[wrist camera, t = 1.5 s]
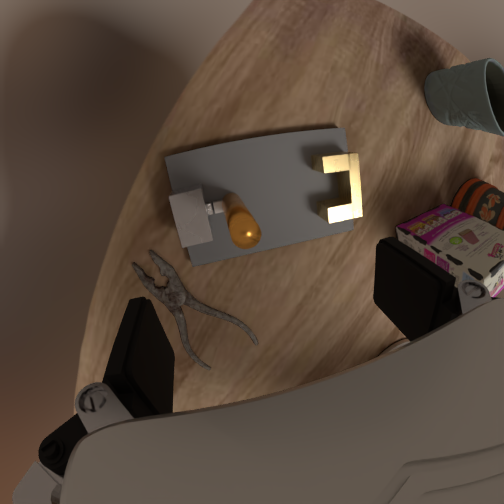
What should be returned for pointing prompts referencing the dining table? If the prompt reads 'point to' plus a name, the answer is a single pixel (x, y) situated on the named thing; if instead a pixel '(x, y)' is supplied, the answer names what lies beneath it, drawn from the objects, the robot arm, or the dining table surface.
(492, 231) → the candy bar box
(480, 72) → the grey green cup
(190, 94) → the dining table surface
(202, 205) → the block
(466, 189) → the beer stein
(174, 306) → the pliers
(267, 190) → the tie down board
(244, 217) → the amber lever
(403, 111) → the dining table surface
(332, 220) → the bracket
